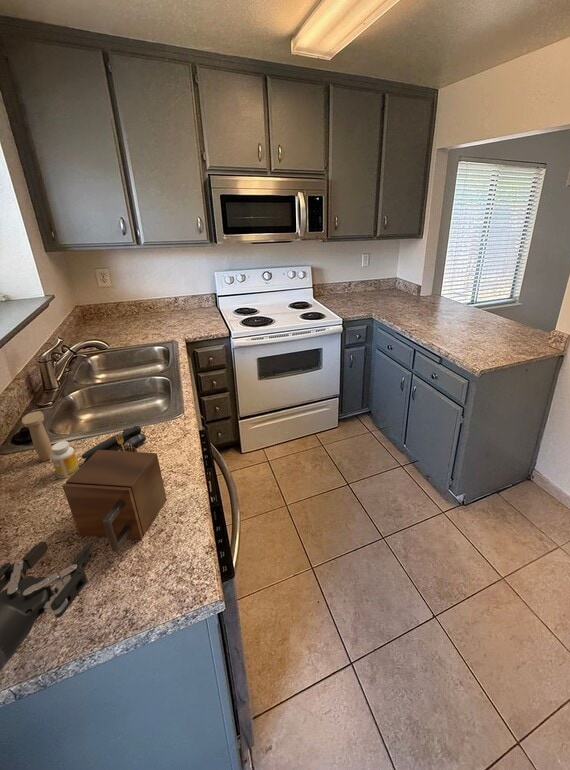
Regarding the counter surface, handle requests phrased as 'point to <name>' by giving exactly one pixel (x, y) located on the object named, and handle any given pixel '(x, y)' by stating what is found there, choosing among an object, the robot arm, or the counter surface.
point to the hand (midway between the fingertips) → (67, 546)
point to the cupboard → (127, 479)
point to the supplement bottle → (64, 459)
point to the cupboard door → (104, 512)
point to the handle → (38, 434)
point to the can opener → (128, 435)
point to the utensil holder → (129, 449)
